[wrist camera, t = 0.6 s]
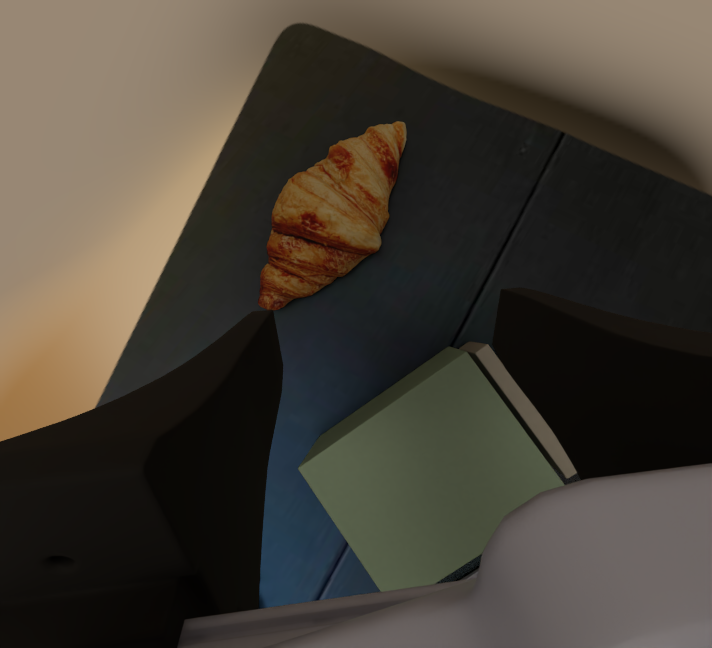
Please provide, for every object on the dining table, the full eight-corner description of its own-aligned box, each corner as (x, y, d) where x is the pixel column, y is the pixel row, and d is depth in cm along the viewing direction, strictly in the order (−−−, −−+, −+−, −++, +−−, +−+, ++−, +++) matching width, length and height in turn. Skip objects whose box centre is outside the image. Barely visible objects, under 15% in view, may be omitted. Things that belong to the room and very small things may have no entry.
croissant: (378, 138, 38) (341, 70, 31) (455, 161, 32) (431, 86, 26) (263, 298, 38) (203, 266, 32) (320, 348, 33) (262, 322, 26)
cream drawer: (514, 309, 32) (543, 305, 26) (591, 412, 31) (640, 432, 25) (343, 428, 33) (332, 451, 27) (412, 529, 33) (417, 576, 26)
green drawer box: (448, 346, 33) (466, 350, 26) (528, 455, 33) (572, 495, 25) (318, 436, 35) (297, 468, 27) (392, 545, 34) (393, 611, 26)
